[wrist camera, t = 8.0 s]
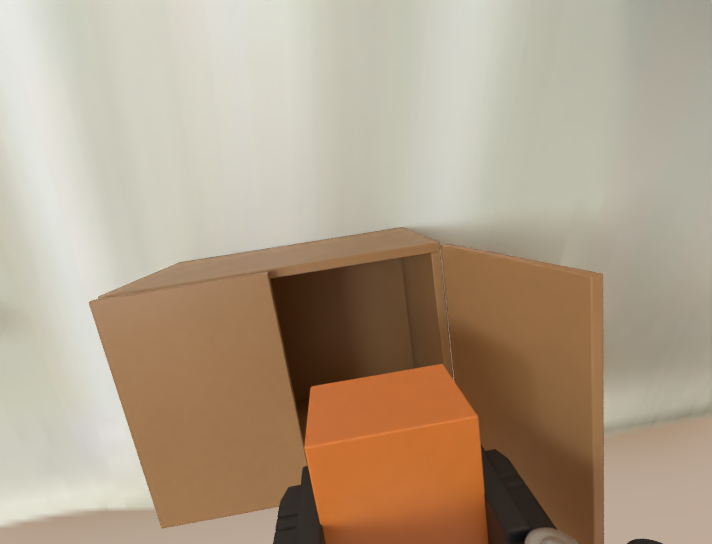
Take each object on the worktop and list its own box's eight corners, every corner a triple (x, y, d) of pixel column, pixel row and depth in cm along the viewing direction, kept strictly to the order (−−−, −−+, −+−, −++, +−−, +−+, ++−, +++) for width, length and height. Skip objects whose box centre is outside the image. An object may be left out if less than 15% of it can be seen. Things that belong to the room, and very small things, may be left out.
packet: (310, 385, 12) (303, 447, 9) (442, 362, 12) (479, 416, 9) (343, 554, 13) (346, 655, 10) (460, 531, 13) (497, 624, 10)
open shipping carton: (402, 227, 27) (444, 243, 17) (420, 380, 30) (467, 472, 20) (178, 262, 26) (86, 301, 16) (218, 416, 29) (160, 530, 19)
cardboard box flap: (440, 244, 17) (447, 243, 17) (463, 471, 20) (469, 468, 20) (591, 276, 9) (603, 273, 9) (595, 647, 12) (605, 642, 12)
